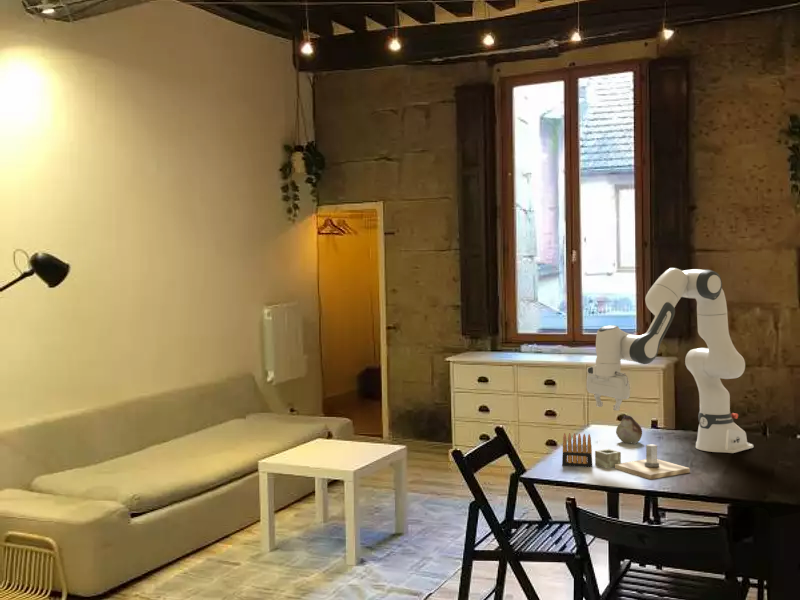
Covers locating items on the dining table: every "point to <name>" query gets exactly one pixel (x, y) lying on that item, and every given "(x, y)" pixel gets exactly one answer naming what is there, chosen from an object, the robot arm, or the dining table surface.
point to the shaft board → (652, 466)
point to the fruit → (629, 430)
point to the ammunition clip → (577, 452)
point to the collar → (607, 458)
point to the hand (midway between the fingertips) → (607, 408)
